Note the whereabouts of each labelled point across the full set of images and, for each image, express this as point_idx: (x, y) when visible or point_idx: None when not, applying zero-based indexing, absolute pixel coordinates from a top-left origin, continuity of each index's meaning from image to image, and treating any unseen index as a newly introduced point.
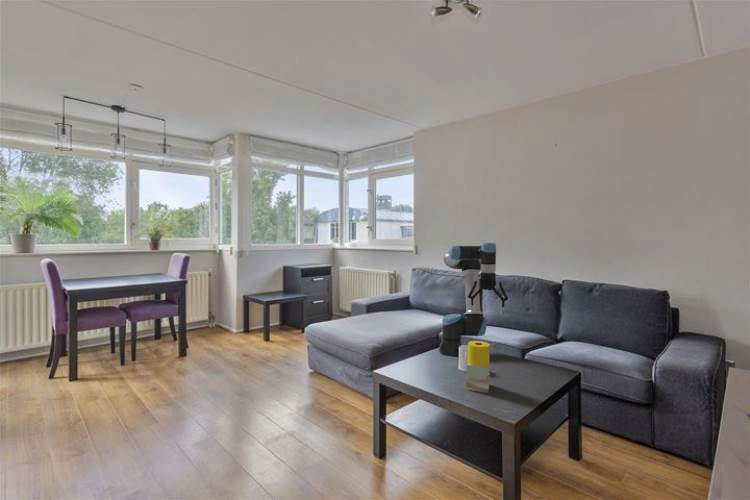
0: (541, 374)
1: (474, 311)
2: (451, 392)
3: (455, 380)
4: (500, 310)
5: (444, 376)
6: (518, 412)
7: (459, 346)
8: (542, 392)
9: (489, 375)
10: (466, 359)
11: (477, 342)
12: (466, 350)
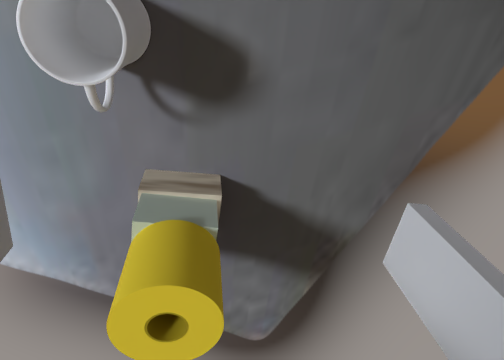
0: (442, 12)
1: (7, 250)
2: (104, 260)
3: (94, 172)
4: (410, 299)
5: (39, 145)
6: (281, 304)
7: (18, 23)
8: (376, 186)
9: (219, 211)
10: (105, 110)
11: (157, 309)
12: (86, 85)
